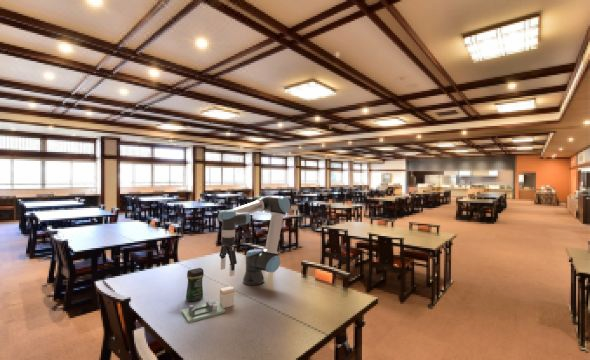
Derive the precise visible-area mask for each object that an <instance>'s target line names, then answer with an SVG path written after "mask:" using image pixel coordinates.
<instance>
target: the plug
mask: <svg viewBox="0 0 590 360" xmlns="http://www.w3.org/2000/svg"><path fill="white" fill-rule="evenodd" d="M234 303H235V288H234V287H233V286H232V285H231V286H225V287H220V288H219V304H220V305H221V306H222V307H223V308H224V309H225V308H229V307H232V306H234V305H235V304H234Z"/></svg>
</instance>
